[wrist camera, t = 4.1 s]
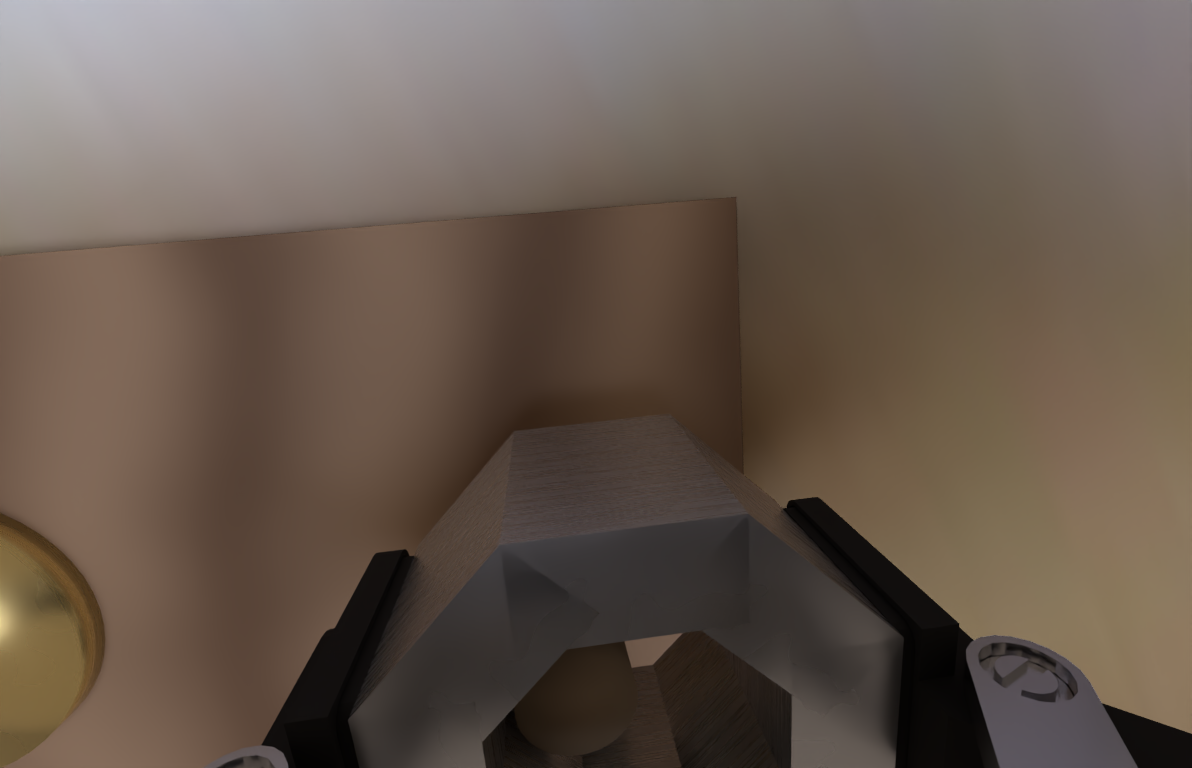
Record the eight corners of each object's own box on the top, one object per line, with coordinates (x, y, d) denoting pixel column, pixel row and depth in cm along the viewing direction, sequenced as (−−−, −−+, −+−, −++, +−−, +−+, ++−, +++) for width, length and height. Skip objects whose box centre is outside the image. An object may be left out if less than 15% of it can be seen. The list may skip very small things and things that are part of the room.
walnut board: (718, 202, 14) (736, 197, 13) (735, 726, 18) (750, 759, 16) (-414, 293, 11) (-522, 297, 10) (-114, 887, 15) (-166, 940, 14)
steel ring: (774, 401, 10) (913, 493, 7) (774, 703, 12) (885, 915, 8) (400, 443, 10) (312, 568, 6) (456, 753, 12) (415, 1004, 8)
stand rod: (592, 499, 14) (633, 640, 9) (598, 570, 14) (641, 743, 9) (512, 510, 14) (507, 661, 9) (521, 582, 14) (521, 765, 9)
